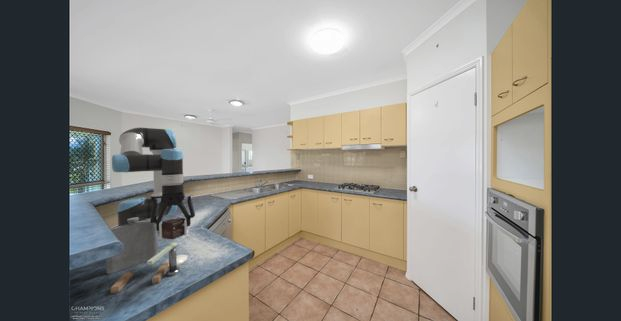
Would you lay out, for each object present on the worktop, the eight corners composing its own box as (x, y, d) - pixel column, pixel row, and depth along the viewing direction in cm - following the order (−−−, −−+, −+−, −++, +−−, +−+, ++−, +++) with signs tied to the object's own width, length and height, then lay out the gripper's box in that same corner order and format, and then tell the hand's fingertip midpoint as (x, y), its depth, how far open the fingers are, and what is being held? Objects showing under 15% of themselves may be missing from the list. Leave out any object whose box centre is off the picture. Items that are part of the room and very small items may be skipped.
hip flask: (106, 275, 71) (105, 224, 71) (106, 270, 74) (105, 222, 73) (158, 257, 83) (157, 214, 82) (157, 254, 85) (156, 213, 85)
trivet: (165, 259, 81) (165, 257, 81) (189, 254, 85) (189, 252, 85) (158, 270, 73) (158, 268, 73) (184, 264, 77) (184, 262, 77)
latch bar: (144, 265, 59) (144, 261, 59) (170, 245, 73) (170, 242, 73) (154, 264, 60) (154, 260, 60) (178, 244, 73) (178, 242, 73)
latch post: (168, 270, 73) (167, 246, 72) (181, 268, 74) (180, 244, 74) (164, 277, 68) (163, 251, 68) (178, 274, 70) (177, 249, 70)
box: (172, 240, 75) (171, 222, 75) (162, 238, 77) (161, 221, 77) (186, 234, 81) (185, 218, 81) (176, 233, 83) (176, 217, 83)
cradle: (126, 276, 70) (126, 271, 70) (168, 267, 75) (167, 262, 75) (110, 294, 60) (110, 288, 60) (159, 282, 66) (158, 277, 66)
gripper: (137, 187, 71) (139, 244, 71) (199, 183, 80) (200, 234, 80) (146, 185, 78) (147, 237, 78) (201, 181, 86) (203, 228, 87)
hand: (174, 235), depth 79 cm, fingers closed on box, 8 cm apart
